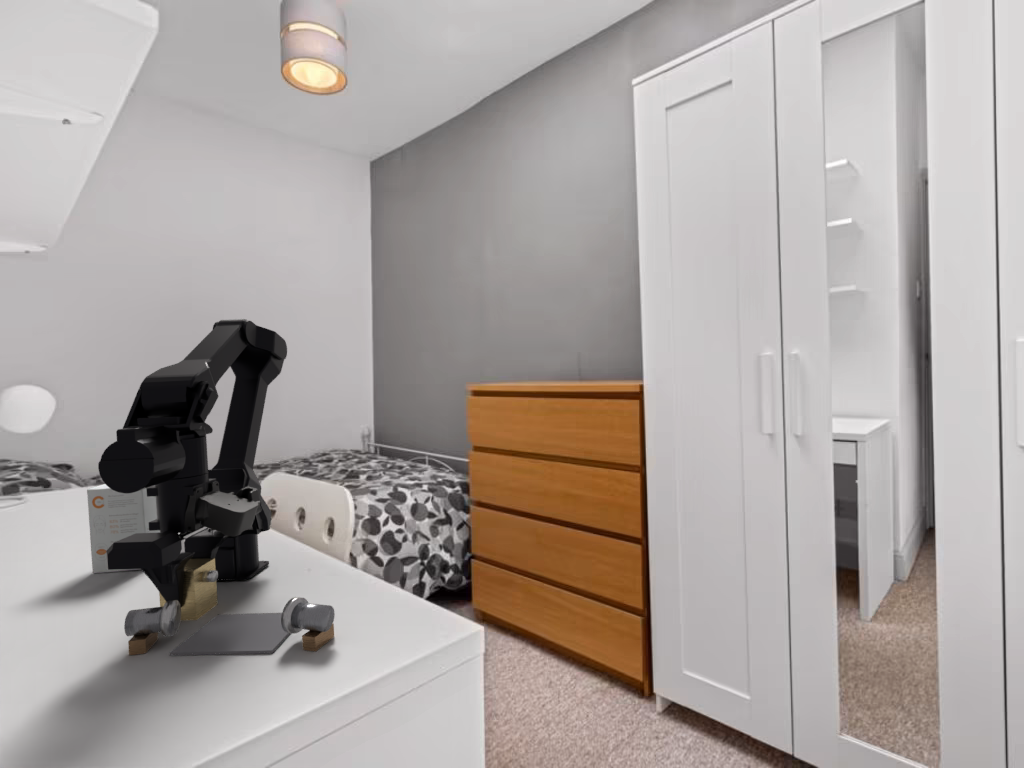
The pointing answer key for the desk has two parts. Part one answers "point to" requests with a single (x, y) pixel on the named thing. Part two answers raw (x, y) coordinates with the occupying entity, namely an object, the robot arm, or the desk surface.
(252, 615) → the mat
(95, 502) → the small box
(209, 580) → the coupler
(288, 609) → the shaft
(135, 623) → the shaft
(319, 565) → the desk surface
